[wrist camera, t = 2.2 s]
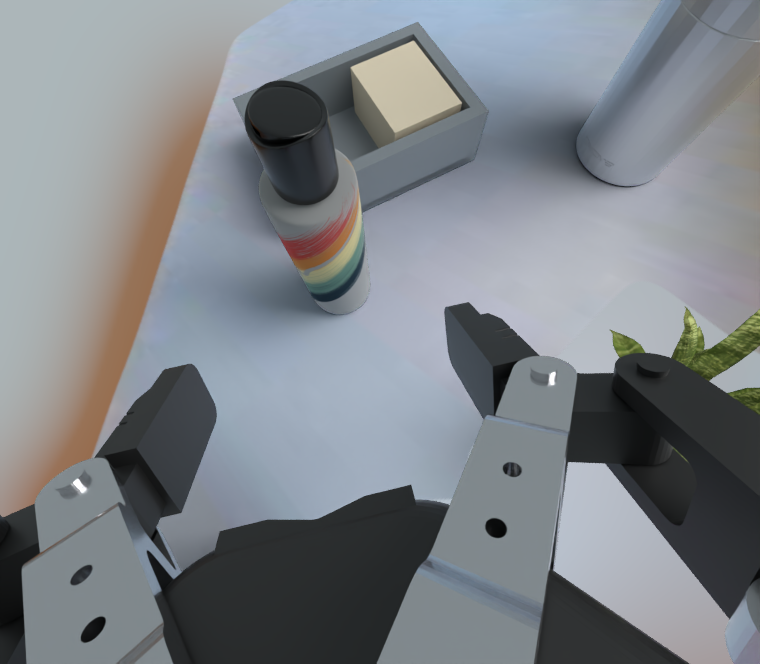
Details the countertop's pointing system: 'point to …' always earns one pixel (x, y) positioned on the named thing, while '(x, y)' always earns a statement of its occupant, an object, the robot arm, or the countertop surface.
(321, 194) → the lotion bottle
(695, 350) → the house plant
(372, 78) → the plain beige carton
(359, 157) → the tote
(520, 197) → the countertop surface
